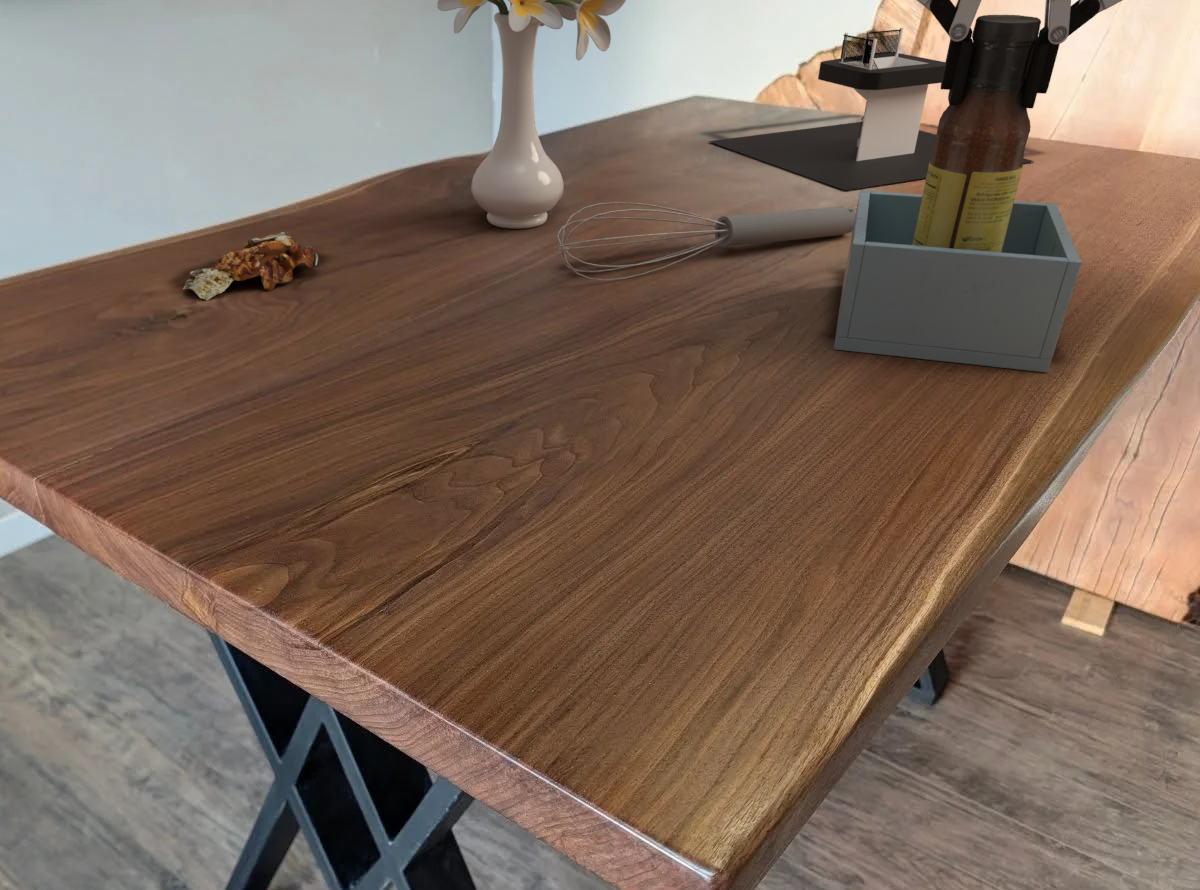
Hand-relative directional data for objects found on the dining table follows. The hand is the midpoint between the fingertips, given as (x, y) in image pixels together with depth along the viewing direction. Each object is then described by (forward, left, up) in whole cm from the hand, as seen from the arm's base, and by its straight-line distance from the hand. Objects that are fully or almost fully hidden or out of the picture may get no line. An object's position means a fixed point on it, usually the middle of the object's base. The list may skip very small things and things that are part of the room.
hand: (989, 100), depth 73 cm
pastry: (+57, +6, -17) cm, 60 cm away
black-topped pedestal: (+7, -57, -17) cm, 60 cm away
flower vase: (+39, -18, -17) cm, 46 cm away
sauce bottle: (0, 0, -15) cm, 15 cm away
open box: (0, 0, -16) cm, 16 cm away
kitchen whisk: (+19, -12, -17) cm, 28 cm away
